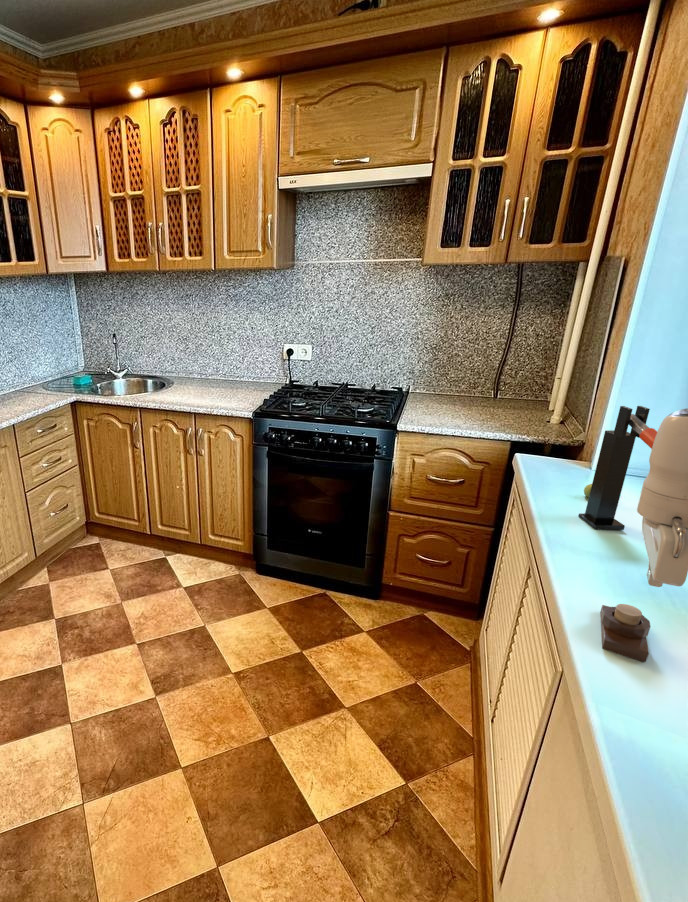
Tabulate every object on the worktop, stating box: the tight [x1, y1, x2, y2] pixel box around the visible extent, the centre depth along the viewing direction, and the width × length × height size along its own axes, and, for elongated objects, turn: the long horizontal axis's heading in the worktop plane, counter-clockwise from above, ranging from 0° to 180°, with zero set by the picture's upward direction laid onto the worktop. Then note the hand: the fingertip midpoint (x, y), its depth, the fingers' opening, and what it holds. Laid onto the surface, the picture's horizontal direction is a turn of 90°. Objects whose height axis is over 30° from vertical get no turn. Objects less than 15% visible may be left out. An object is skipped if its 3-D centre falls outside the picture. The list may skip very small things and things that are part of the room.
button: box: [614, 603, 643, 625], centre depth 93 cm, size 4×4×2 cm
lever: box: [628, 413, 658, 450], centre depth 120 cm, size 12×3×3 cm, turn 176°
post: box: [578, 405, 651, 531], centre depth 129 cm, size 7×7×31 cm
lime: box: [583, 483, 592, 499], centre depth 147 cm, size 4×5×5 cm
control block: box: [599, 604, 651, 663], centre depth 94 cm, size 12×6×4 cm, turn 146°
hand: (653, 582), depth 88 cm, fingers closed
